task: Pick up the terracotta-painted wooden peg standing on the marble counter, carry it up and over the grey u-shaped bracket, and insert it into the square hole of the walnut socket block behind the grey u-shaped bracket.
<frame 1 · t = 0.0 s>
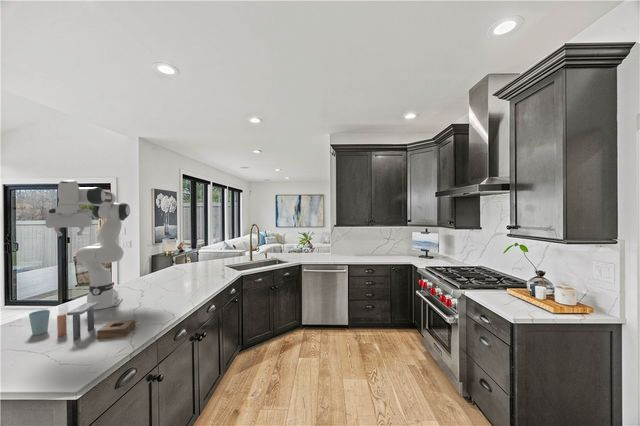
hand: (69, 235, 159), 48 cm above the counter, fingers open, 8 cm apart
socket: (117, 332, 147), on the counter
grey u-shaped bracket: (84, 333, 147), on the counter
peg: (62, 335, 146), on the counter
cup: (40, 333, 149), on the counter
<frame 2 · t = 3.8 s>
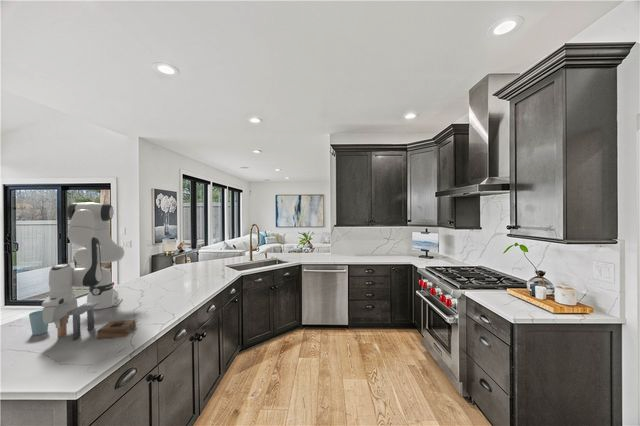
hand: (62, 325, 146), 5 cm above the counter, fingers closed on peg, 3 cm apart
peg: (62, 335, 146), on the counter, touching gripper
everything else where it was.
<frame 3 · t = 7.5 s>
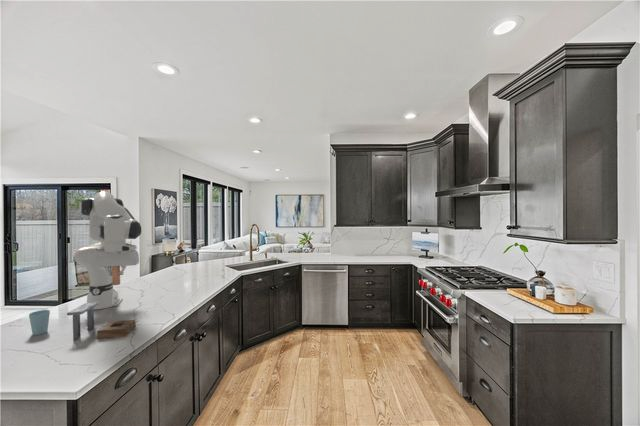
hand: (115, 275, 147), 29 cm above the counter, fingers closed on peg, 3 cm apart
peg: (116, 284, 147), point 24 cm above the counter, touching gripper
everything else where it was.
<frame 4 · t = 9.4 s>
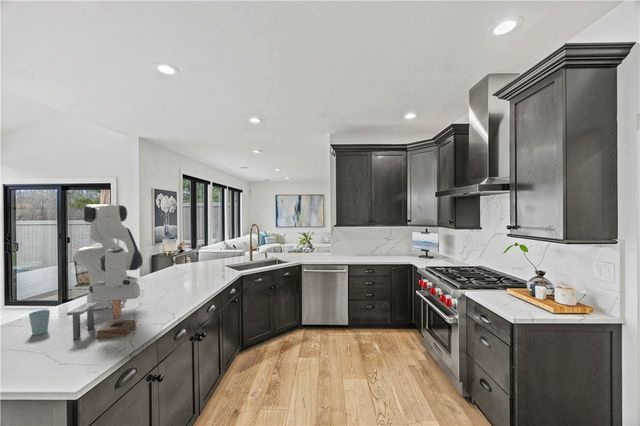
hand: (116, 308, 147), 12 cm above the counter, fingers closed on peg, 3 cm apart
peg: (117, 317, 147), point 8 cm above the counter, touching gripper
everything else where it was.
when the fingers open (6 cm above the counter, at t = 10.9 s): peg drops 1 cm, resting in socket.
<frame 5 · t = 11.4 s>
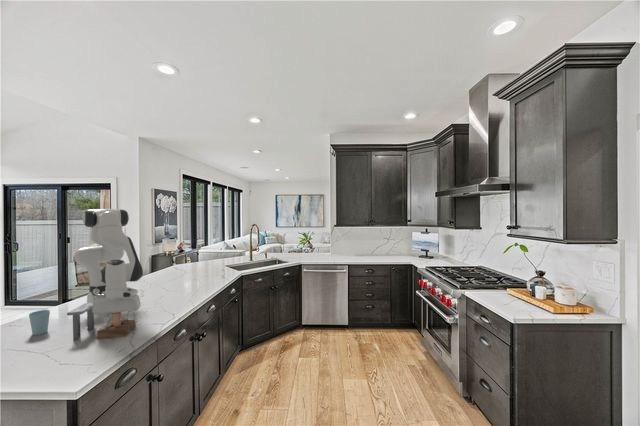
hand: (117, 320, 147), 6 cm above the counter, fingers open, 8 cm apart
peg: (117, 332, 147), resting in socket
everything else where it was.
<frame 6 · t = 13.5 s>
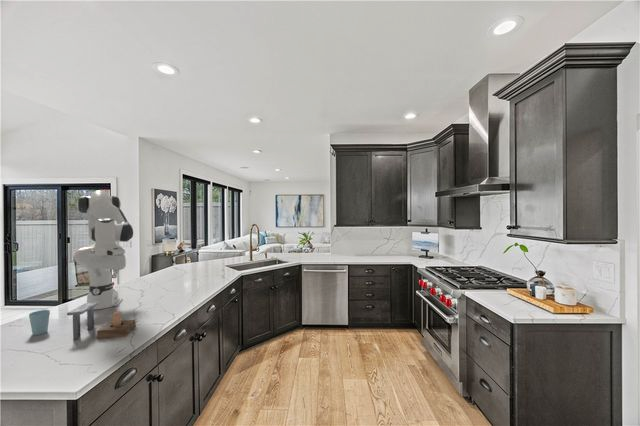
hand: (106, 277, 150), 27 cm above the counter, fingers open, 8 cm apart
nothing on the counter moved.
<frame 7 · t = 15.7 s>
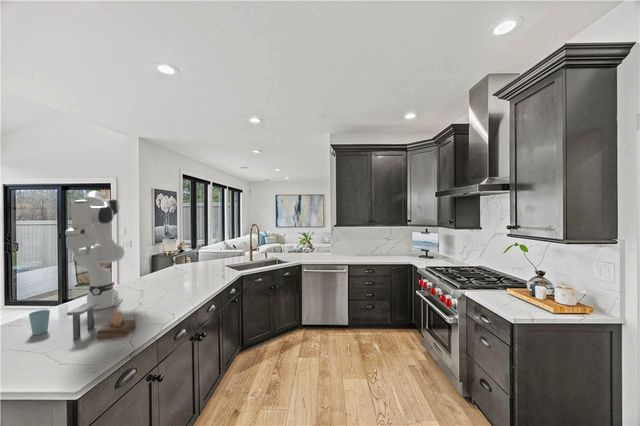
hand: (82, 256, 157), 37 cm above the counter, fingers open, 8 cm apart
nothing on the counter moved.
at the end: peg 0.1 cm off-centre on the socket, point 0.0 cm above the socket's base; peg tilted 0°; the gripper is holding nothing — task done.
